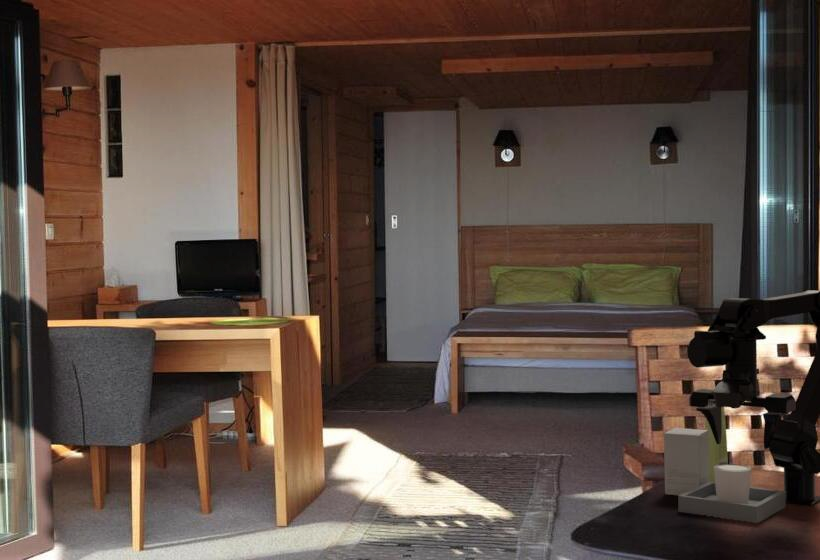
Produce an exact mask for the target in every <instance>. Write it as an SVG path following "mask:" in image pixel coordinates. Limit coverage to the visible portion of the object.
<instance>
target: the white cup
mask: <svg viewBox="0 0 820 560" xmlns="http://www.w3.org/2000/svg"><path fill="white" fill-rule="evenodd" d="M714 475H715V485H716V495H717V500H722V501H729V502H736V503H743V504H748V501H749V490H750V487H751V478H752V468H751V467H749V466H747V465H742V464H729V463H728V464H723V465H717V466H714Z"/></svg>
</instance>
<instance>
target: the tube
mask: <svg viewBox="0 0 820 560" xmlns="http://www.w3.org/2000/svg"><path fill="white" fill-rule="evenodd" d="M721 411H722V437H721V443H720V444H717V443H716V441H715V438H714V435H713V433H712V430H711V427H710V425H709V423H708V421H707V419H706V418H705V427H704V430H709V479H710V482H715V475H714V466H717V465H723V464H729V461H728V459H729V457H728V440H727V425H726V424H727V423H726V414H725V413H726V412H725V407H721Z"/></svg>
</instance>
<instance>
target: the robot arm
mask: <svg viewBox="0 0 820 560" xmlns="http://www.w3.org/2000/svg"><path fill="white" fill-rule="evenodd" d="M801 314H807V315H808V317H809V322H811V324H812V325H813V326H815V327H816V331H815V336H814V337H815V341H816V342H815V343H816V348H817V349H816V352H815V355H814V357H813V359H812V361H811V364H810V366H809V368H808V369H809V370H808V372H807V374H806V376H805V379H804V382H803V383H802V386H801V388H800V390H799V392H798V395H797V397H796V399H795V397H794V396H793V395H792V394H782V393H781V394H780V393H773V394H772V393H771V394H769V395H766V396H765V397H761V396H760V390H759V389H758V375H759V374H760V368H758V361H757V360H758V359H757V355H758V354H757V341H760V340H761V341H763V340H766V339H767V336H766V335H765V334H764V333H763V332H762V331H760V329H759V327H761V326H764V325H766V324H767V323H769V321H771V320H774V319H778V318H783V317H789V316H797V315H801ZM693 335H694V337H693V338H691V340H690V341H689V343H688V347H687V349H686V353H687V358H688V360H689V363H690V364H691V365H692V366H693V367H695V368H698V369H699V368H710V367H721V366H722V367H723V366H725V367H724V370H722V374H721V375H722V377H721V381H720V382H718V384H716V386H715V387H714V389H709V388H707V389H706V388H704V389H703V388H700V389H697V390H693V391H692V392H691V393H690V394H689V400H688V401H689V402H688V403H689V406H690V407H694V408H695V411H697V412H700V413H701V414H702V415H703V416H704V417H705V420H706V419H707V421H708V423H709V425H710V427H711V430H712V433H713V435H714V438H715V441H716V443H717V444H720V443H721V437H722V411H721V407H724V408H730V409H734V410H735V409H736V410H737V409H739V408H741V407H755V408H764V409H765V410H766V412H765V413H762V416H763V420H764V426H763V427H764V429H763V448H764V450H767V449H768V450H769V453H770V455H771V457H772V459H773V460H772V461H773V464H774V466H775V467H777V468H778V467H779V468H783V491H786V503H791V504H792V503H793V504H798V505H805V506H806V505H807V506H812V505H814V504H815V503H817V502H819V501H820V496H818V495H817V496H816V475H817V474H820V452H819V451H818V449H817V445H818V442H819V437H818V436H819V435H818V431H817V422H818V420H819V417H820V290H814V289H813V290H811V289H810V290H809V289H807V290H806V291H803V292H797V293H791V294H784V295H779V296H772V297H767V298H761V299H760V298H744V297H741V298H739V297H728V298H725V299H723V300H722V302H721V304H720V308H719V310H718V312H717V314H716V315H715V317H714V319H713V321H712V322H711V324H710V326H709V327H708V329H707V331H706V330H695V331H694V332H693ZM759 396H760V397H759ZM789 413H790V414H789ZM787 415H788V416H787ZM784 416H786V418H784V419H783V417H784Z"/></svg>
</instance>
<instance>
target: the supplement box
mask: <svg viewBox="0 0 820 560" xmlns="http://www.w3.org/2000/svg"><path fill="white" fill-rule="evenodd" d="M663 450H664V451H663V454H664V455H663V456H664V458H663V459H664V460H663V461H664V463H663V464H664V495H668V496H671V495H673V496H679V495H681V494H683V493H686V492H688V491H690V490H692V489H695V488H697V487H699V486H701V485H704V484H706V483H708V482H710V479H709V430H705V429H696V428H695V429H694V428H683V427H682V428H681V427H674V428H671V429H669V430H667V431H666V432H663Z"/></svg>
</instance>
